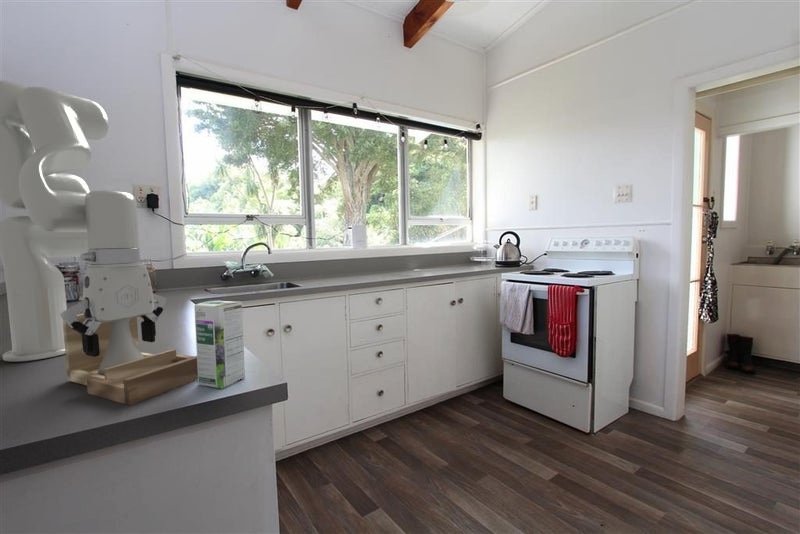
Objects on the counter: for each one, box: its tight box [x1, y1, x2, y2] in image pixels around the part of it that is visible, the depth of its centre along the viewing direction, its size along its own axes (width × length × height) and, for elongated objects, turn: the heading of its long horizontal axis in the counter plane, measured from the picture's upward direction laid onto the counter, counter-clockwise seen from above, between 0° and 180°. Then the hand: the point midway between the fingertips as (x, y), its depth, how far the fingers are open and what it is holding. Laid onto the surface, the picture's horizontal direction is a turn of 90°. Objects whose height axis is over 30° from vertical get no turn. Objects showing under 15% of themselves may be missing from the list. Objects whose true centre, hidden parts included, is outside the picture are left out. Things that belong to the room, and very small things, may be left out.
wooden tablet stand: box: [62, 313, 177, 386], centre depth 70 cm, size 13×12×12 cm
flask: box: [98, 318, 144, 375], centre depth 70 cm, size 7×7×10 cm
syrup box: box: [194, 300, 246, 390], centre depth 66 cm, size 6×6×14 cm
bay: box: [86, 352, 198, 407], centre depth 66 cm, size 12×15×4 cm
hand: (122, 348), depth 70 cm, fingers open, 9 cm apart
